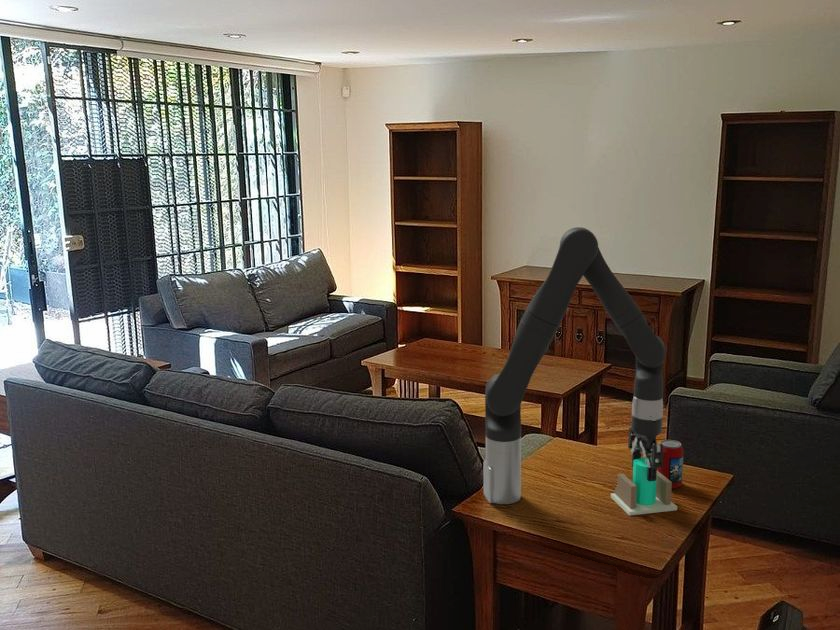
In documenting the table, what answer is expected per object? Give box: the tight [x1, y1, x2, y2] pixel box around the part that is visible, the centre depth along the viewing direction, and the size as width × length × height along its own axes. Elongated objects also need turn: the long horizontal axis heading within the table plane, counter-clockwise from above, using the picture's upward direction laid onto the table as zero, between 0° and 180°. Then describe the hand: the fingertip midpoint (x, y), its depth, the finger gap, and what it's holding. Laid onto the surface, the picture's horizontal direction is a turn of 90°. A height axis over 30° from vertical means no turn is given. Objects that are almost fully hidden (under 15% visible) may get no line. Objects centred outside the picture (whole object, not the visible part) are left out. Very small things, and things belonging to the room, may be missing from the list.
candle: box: [632, 457, 657, 505], centre depth 205 cm, size 6×6×12 cm
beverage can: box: [657, 439, 685, 490], centre depth 216 cm, size 7×7×12 cm
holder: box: [610, 471, 678, 516], centre depth 205 cm, size 13×11×7 cm
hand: (643, 473), depth 204 cm, fingers open, 8 cm apart
